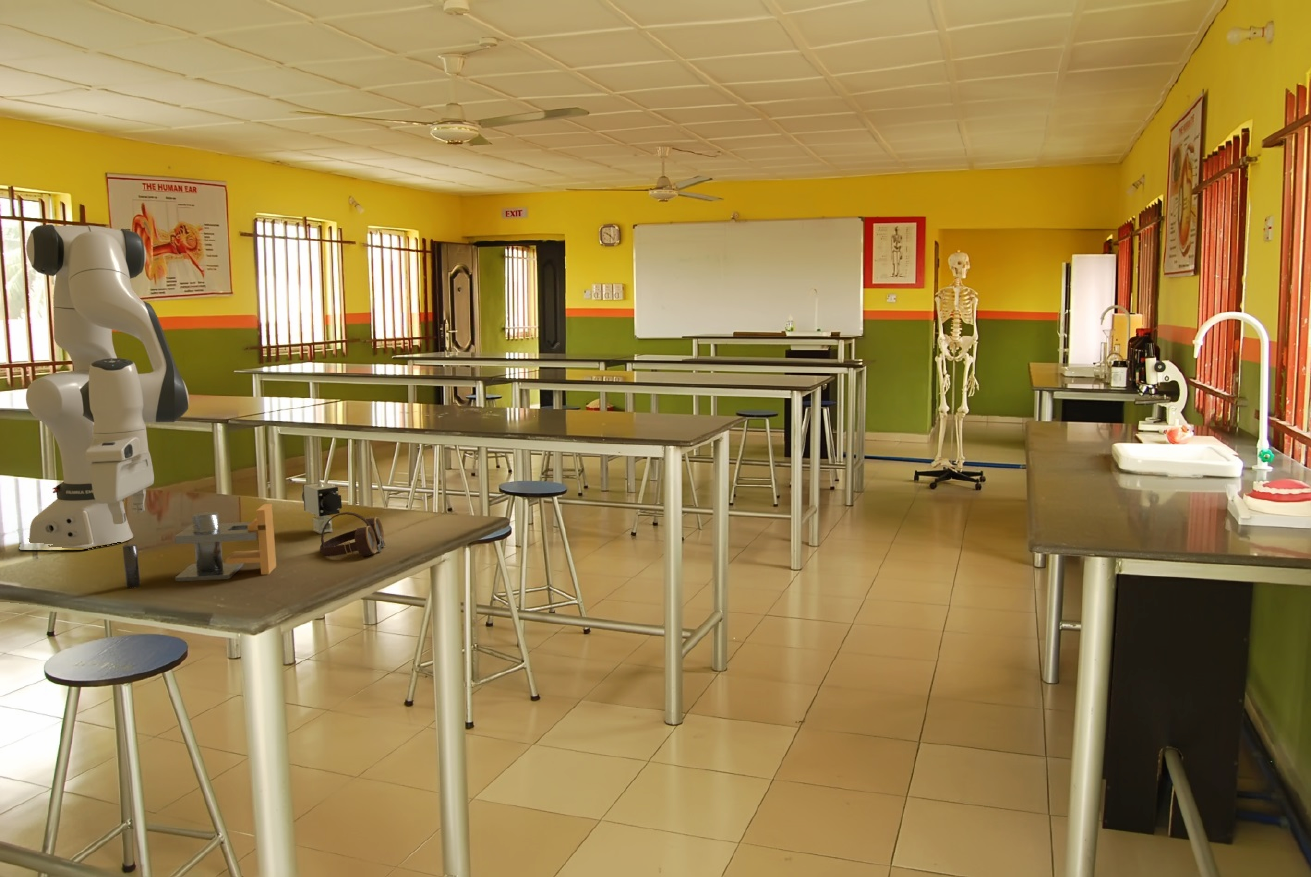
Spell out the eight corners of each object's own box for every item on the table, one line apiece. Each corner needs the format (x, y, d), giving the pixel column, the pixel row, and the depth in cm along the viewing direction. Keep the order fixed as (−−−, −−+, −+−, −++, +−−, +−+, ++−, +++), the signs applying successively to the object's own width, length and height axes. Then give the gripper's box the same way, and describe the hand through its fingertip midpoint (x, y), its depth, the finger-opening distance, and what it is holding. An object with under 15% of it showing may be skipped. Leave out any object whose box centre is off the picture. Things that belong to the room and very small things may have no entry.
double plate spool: (175, 581, 194) (170, 521, 193) (192, 567, 204) (187, 510, 203) (258, 577, 196) (254, 517, 195) (271, 563, 206) (266, 506, 205)
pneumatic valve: (324, 537, 228) (320, 486, 227) (303, 529, 237) (299, 479, 235) (347, 533, 232) (343, 482, 230) (325, 525, 241) (322, 476, 239)
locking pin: (124, 588, 190) (120, 547, 189) (129, 584, 193) (125, 544, 192) (137, 587, 191) (133, 546, 189) (142, 584, 193) (138, 543, 192)
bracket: (226, 576, 198) (221, 511, 196) (235, 568, 203) (230, 505, 202) (269, 574, 199) (264, 510, 197) (276, 566, 204) (271, 503, 203)
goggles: (378, 558, 209) (364, 512, 207) (316, 574, 208) (302, 528, 207) (391, 540, 224) (378, 498, 223) (334, 555, 224) (321, 512, 222)
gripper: (124, 439, 197) (132, 508, 199) (80, 454, 177) (89, 530, 179) (158, 437, 198) (165, 506, 200) (118, 452, 178) (127, 528, 180)
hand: (129, 517), depth 190 cm, fingers open, 8 cm apart
